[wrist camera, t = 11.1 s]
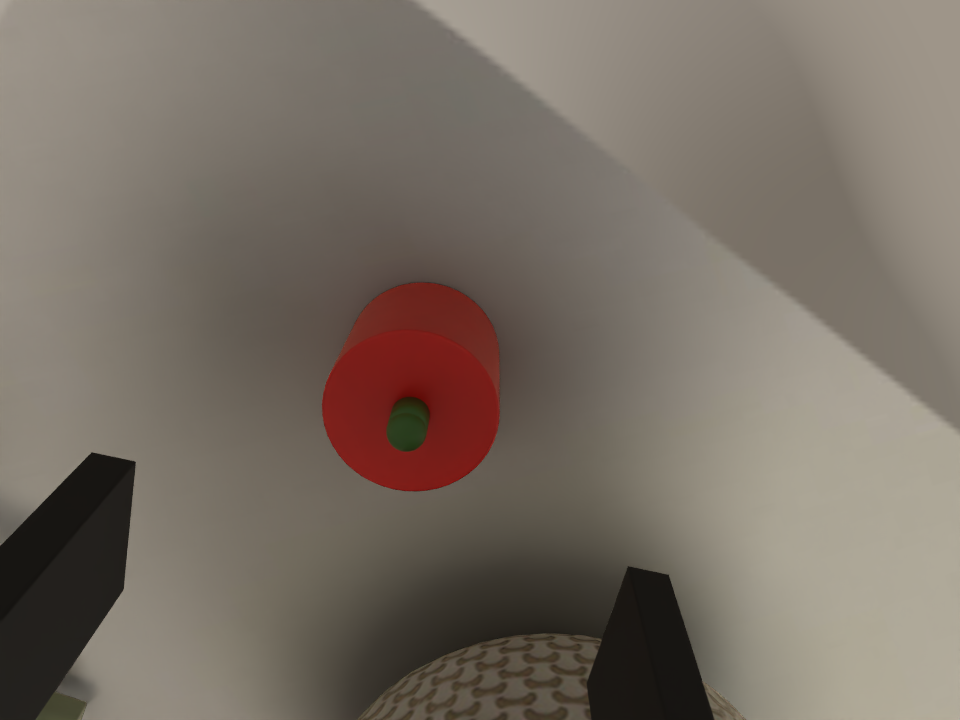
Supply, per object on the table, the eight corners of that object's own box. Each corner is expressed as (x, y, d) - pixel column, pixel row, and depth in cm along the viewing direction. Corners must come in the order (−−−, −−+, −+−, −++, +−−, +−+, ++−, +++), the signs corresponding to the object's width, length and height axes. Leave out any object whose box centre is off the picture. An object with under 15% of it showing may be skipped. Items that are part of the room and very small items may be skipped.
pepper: (364, 266, 25) (325, 331, 19) (515, 301, 25) (520, 375, 20) (337, 404, 26) (295, 501, 21) (480, 436, 27) (475, 539, 21)
